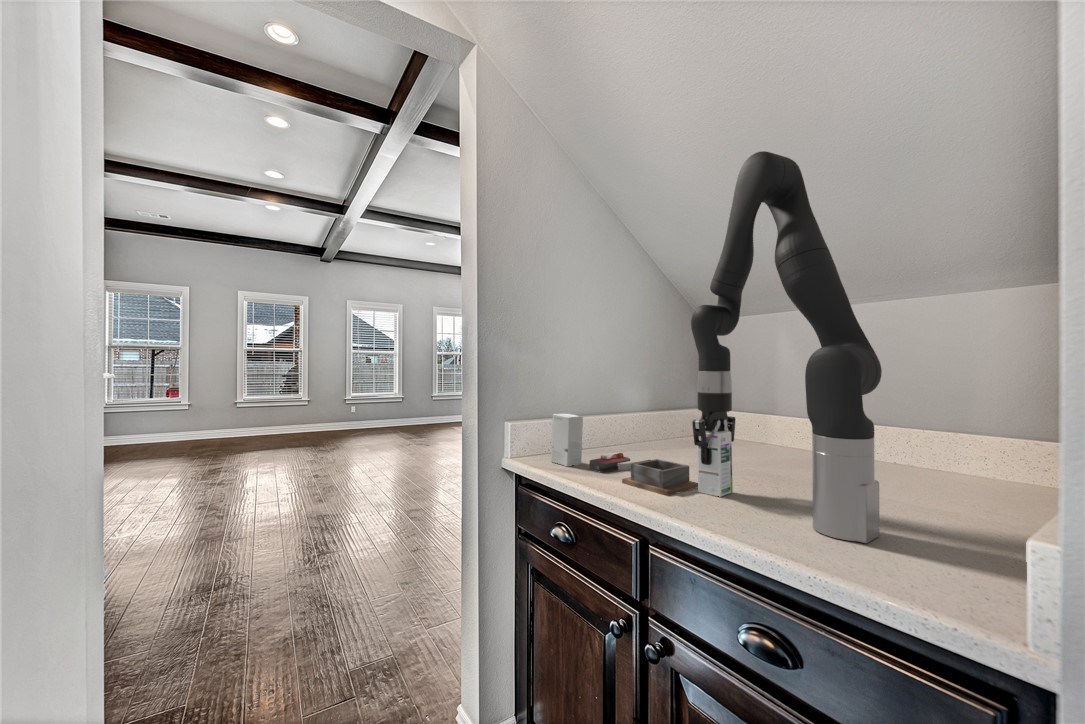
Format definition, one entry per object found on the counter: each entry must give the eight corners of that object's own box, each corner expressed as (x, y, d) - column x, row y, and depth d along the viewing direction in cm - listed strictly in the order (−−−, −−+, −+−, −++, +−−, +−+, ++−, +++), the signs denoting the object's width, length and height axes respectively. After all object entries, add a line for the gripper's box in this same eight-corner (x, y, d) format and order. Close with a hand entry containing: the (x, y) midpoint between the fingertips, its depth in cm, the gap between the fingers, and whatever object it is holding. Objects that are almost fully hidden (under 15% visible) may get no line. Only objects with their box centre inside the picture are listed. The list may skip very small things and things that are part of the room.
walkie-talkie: (607, 476, 122) (653, 466, 135) (606, 460, 122) (653, 451, 135) (584, 470, 129) (631, 461, 142) (584, 455, 129) (631, 447, 142)
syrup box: (721, 497, 101) (720, 433, 101) (696, 492, 105) (696, 430, 105) (733, 493, 105) (732, 430, 105) (709, 487, 109) (708, 428, 109)
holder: (698, 487, 110) (698, 466, 110) (667, 495, 103) (667, 473, 103) (653, 475, 121) (653, 457, 121) (622, 482, 114) (622, 463, 114)
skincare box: (550, 462, 138) (550, 414, 138) (565, 459, 142) (565, 412, 142) (568, 467, 132) (568, 416, 132) (583, 464, 135) (583, 415, 135)
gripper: (710, 392, 98) (710, 469, 98) (746, 390, 106) (746, 461, 106) (681, 391, 104) (682, 463, 104) (717, 388, 112) (718, 456, 112)
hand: (714, 462), depth 105 cm, fingers closed on syrup box, 6 cm apart
